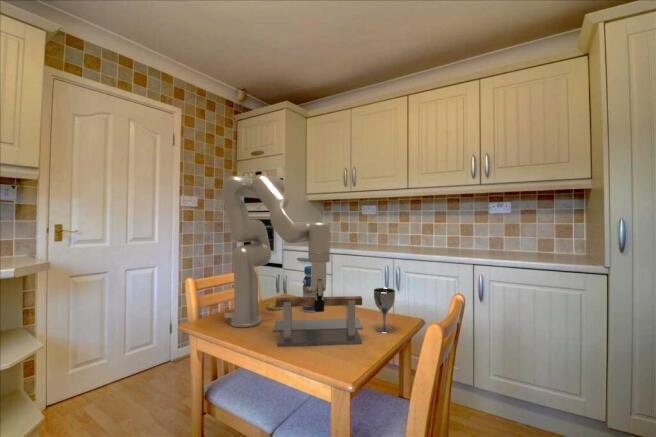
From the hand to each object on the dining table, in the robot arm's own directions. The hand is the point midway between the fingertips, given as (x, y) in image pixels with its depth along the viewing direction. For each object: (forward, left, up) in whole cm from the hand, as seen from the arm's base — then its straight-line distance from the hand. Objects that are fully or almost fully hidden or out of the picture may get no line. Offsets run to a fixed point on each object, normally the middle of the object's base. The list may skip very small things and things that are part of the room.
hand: (319, 309), depth 106 cm
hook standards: (0, 0, -11) cm, 10 cm away
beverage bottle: (-2, +35, -11) cm, 37 cm away
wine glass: (+25, +7, -11) cm, 28 cm away
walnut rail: (0, 0, +2) cm, 2 cm away
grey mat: (0, +14, -11) cm, 17 cm away
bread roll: (-19, +40, -11) cm, 45 cm away
